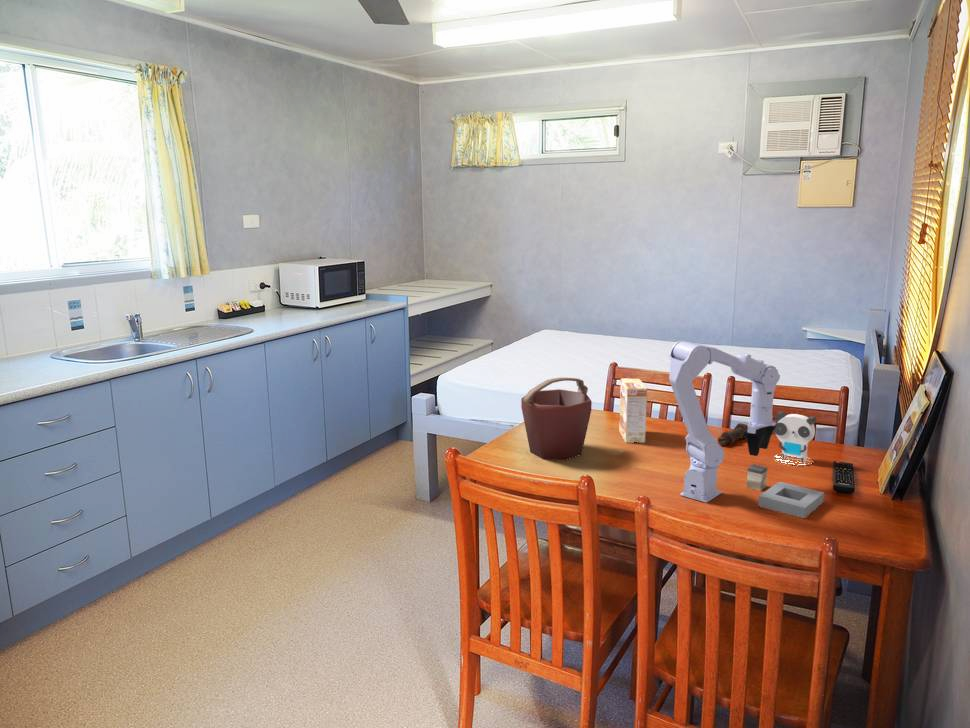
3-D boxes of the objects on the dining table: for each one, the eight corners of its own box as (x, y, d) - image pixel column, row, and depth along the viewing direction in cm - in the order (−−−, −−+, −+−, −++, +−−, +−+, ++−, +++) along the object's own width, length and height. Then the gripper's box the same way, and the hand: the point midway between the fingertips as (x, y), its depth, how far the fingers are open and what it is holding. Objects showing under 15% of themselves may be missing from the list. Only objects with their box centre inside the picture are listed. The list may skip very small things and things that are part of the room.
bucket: (579, 439, 247) (580, 369, 242) (605, 459, 226) (607, 383, 221) (512, 445, 241) (512, 374, 236) (533, 467, 220) (533, 389, 215)
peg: (760, 491, 200) (761, 471, 198) (746, 487, 202) (747, 467, 201) (765, 487, 202) (767, 467, 201) (752, 483, 205) (753, 464, 204)
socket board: (804, 519, 181) (805, 508, 180) (758, 506, 189) (758, 495, 188) (823, 502, 191) (824, 492, 190) (778, 491, 199) (779, 481, 198)
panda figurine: (766, 460, 224) (770, 415, 221) (779, 451, 232) (782, 407, 229) (806, 469, 216) (810, 422, 213) (817, 459, 225) (822, 414, 222)
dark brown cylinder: (718, 451, 239) (740, 440, 249) (730, 447, 235) (752, 436, 245) (711, 435, 240) (733, 425, 250) (723, 431, 236) (745, 420, 246)
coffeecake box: (618, 430, 257) (620, 378, 253) (638, 430, 257) (640, 378, 253) (624, 443, 242) (626, 388, 238) (645, 443, 242) (647, 388, 238)
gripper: (767, 413, 190) (763, 461, 193) (784, 402, 201) (781, 447, 204) (741, 409, 195) (738, 456, 197) (759, 398, 205) (756, 443, 208)
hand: (758, 451), depth 201 cm, fingers open, 7 cm apart
